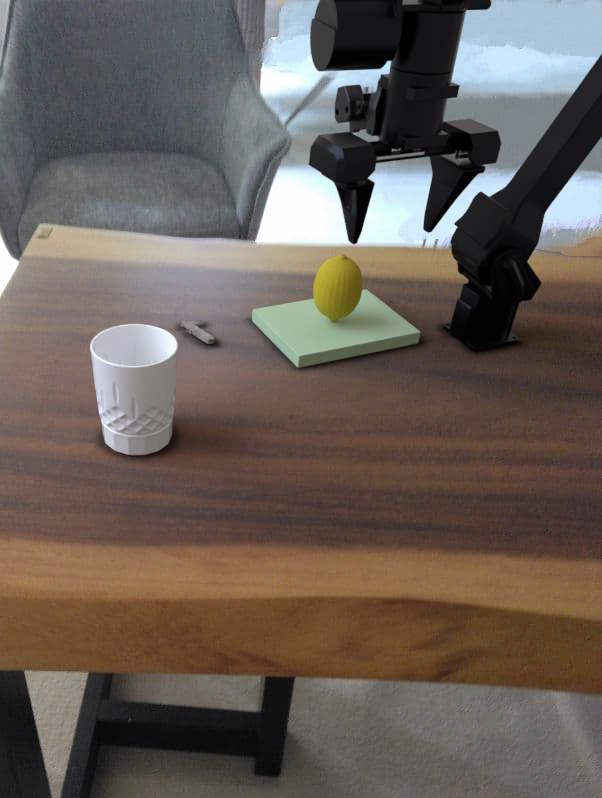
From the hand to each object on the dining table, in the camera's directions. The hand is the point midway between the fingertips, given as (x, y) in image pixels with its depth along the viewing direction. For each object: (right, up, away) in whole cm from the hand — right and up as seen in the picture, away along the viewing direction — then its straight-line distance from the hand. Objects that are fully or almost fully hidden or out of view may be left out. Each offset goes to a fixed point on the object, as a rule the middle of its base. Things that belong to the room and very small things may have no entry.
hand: (390, 236), depth 83 cm
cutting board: (-4, -7, +12) cm, 14 cm away
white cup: (-26, -22, -5) cm, 34 cm away
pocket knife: (-20, -8, +11) cm, 24 cm away
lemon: (-4, -6, +11) cm, 13 cm away
